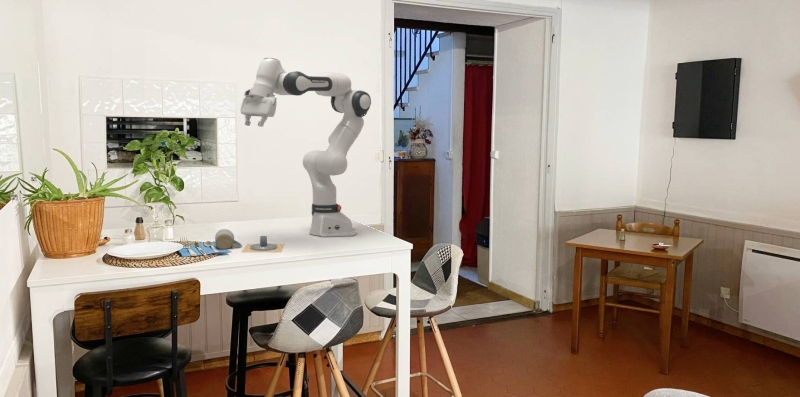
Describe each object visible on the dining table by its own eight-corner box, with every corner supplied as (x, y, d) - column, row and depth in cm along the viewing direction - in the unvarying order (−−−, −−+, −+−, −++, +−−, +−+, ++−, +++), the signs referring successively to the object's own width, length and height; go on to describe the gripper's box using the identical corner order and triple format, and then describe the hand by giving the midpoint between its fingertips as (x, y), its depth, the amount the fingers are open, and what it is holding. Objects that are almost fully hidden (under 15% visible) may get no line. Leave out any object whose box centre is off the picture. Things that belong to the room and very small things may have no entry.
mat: (285, 245, 264) (285, 243, 264) (281, 253, 248) (281, 252, 248) (247, 245, 262) (247, 243, 262) (240, 253, 246) (240, 252, 246)
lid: (278, 245, 261) (278, 234, 260) (275, 250, 250) (275, 239, 249) (252, 245, 260) (252, 234, 259) (248, 250, 249) (248, 239, 248)
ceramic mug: (215, 251, 250) (215, 232, 249) (215, 247, 258) (215, 229, 257) (242, 250, 253) (242, 232, 252) (241, 246, 261) (241, 228, 260)
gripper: (283, 97, 255) (274, 129, 253) (254, 96, 268) (245, 127, 267) (271, 91, 250) (262, 124, 248) (242, 91, 263) (233, 122, 262)
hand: (253, 125), depth 258 cm, fingers open, 8 cm apart
